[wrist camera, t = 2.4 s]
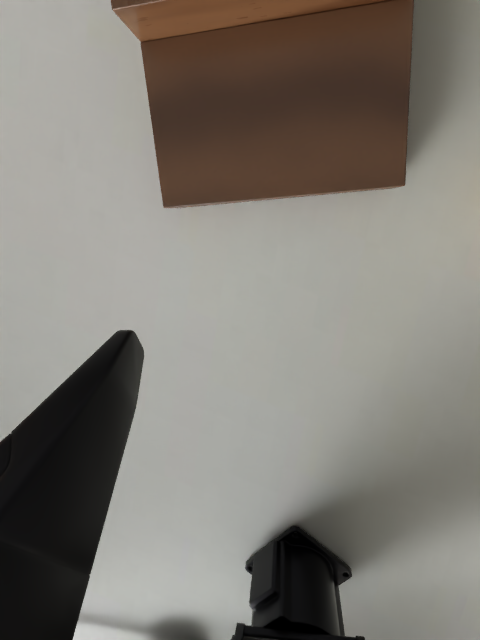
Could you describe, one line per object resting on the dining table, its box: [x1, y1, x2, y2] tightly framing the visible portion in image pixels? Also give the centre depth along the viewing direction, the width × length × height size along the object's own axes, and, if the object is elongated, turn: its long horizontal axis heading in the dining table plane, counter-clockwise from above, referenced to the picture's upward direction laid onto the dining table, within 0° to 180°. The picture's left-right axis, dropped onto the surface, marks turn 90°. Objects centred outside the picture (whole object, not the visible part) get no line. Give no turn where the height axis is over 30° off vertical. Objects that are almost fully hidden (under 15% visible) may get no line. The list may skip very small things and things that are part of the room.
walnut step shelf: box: [111, 0, 414, 208], centre depth 17 cm, size 12×13×6 cm
